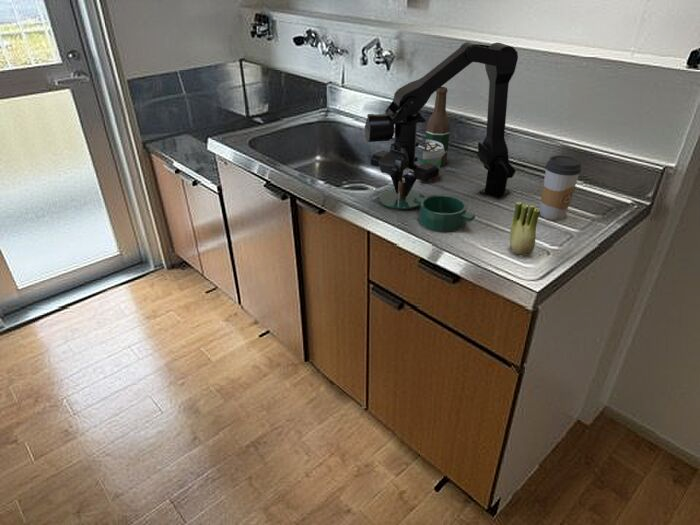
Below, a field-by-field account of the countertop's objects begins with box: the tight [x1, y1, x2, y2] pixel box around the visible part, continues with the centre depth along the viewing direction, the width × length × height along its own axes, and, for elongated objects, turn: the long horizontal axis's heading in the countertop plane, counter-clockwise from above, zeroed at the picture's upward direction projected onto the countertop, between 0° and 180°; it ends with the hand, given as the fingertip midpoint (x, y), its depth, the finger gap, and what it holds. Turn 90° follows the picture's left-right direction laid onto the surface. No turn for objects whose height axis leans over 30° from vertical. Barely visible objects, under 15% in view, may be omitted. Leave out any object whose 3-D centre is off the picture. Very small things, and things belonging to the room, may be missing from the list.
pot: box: [413, 194, 476, 233], centre depth 125 cm, size 11×17×5 cm
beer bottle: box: [425, 86, 451, 168], centre depth 155 cm, size 8×8×24 cm
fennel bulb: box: [509, 201, 541, 257], centre depth 110 cm, size 6×5×12 cm
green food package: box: [420, 138, 445, 184], centre depth 149 cm, size 12×6×10 cm, turn 168°
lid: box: [378, 178, 425, 210], centre depth 135 cm, size 12×12×6 cm
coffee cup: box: [539, 154, 582, 221], centre depth 126 cm, size 8×8×15 cm
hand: (402, 194), depth 136 cm, fingers closed on lid, 2 cm apart
